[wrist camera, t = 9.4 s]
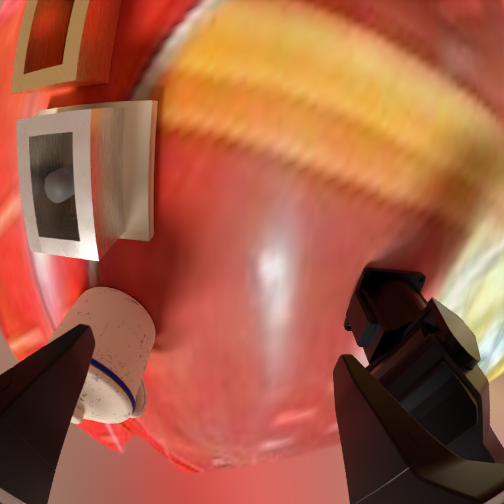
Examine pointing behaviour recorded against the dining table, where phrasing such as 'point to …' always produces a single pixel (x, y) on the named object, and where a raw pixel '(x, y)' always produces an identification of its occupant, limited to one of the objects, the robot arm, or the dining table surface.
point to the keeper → (134, 166)
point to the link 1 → (76, 48)
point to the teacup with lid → (112, 354)
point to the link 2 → (85, 181)
